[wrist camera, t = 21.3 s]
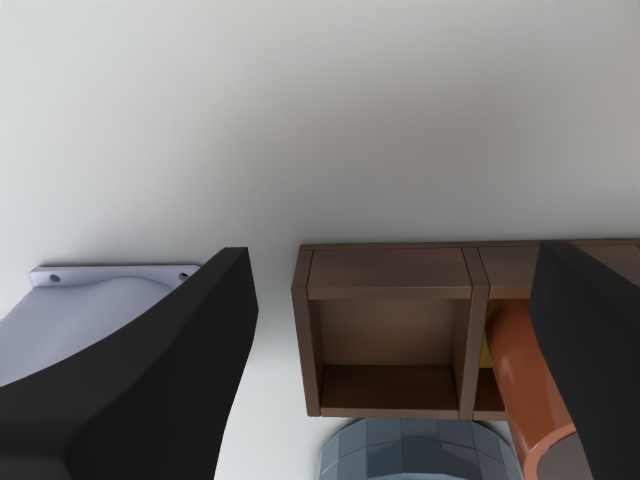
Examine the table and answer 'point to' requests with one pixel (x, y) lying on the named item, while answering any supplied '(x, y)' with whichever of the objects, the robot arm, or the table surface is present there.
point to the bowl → (416, 452)
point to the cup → (531, 397)
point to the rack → (414, 323)
